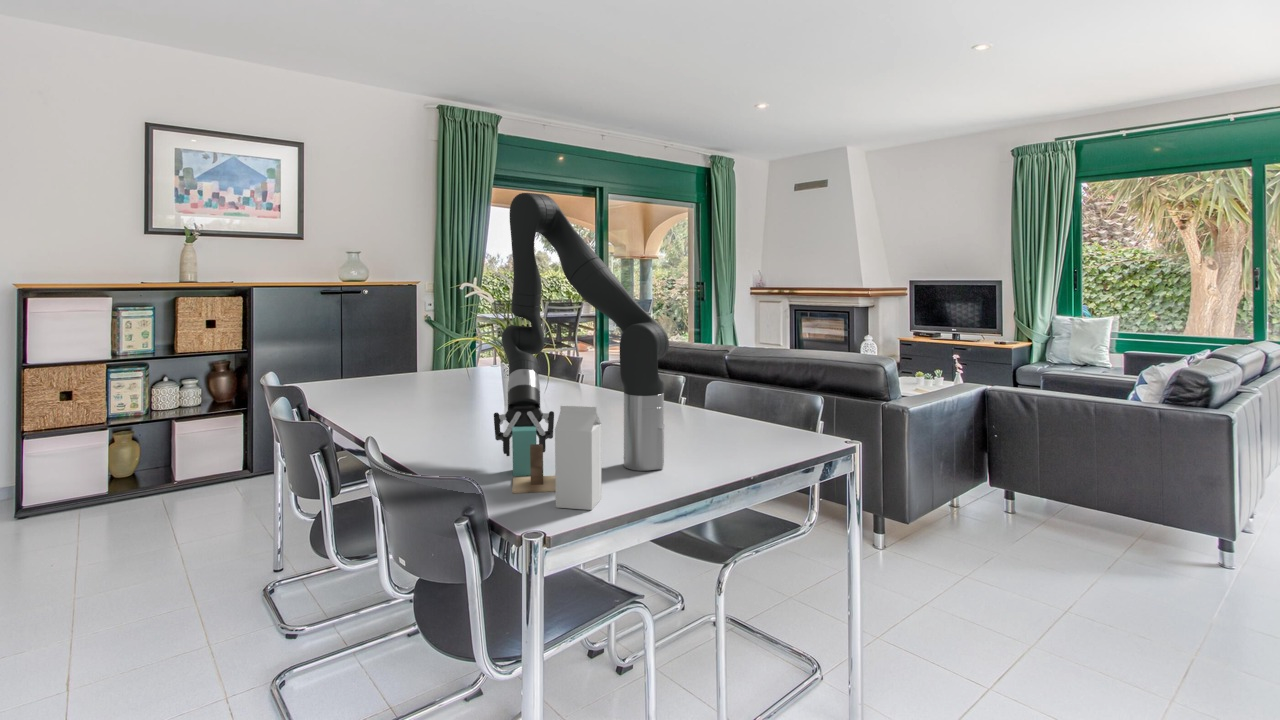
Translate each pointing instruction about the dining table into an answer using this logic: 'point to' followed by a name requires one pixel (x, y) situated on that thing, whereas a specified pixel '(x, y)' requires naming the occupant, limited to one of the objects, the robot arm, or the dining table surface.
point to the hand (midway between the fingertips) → (524, 453)
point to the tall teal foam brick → (522, 449)
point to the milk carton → (578, 457)
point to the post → (534, 475)
